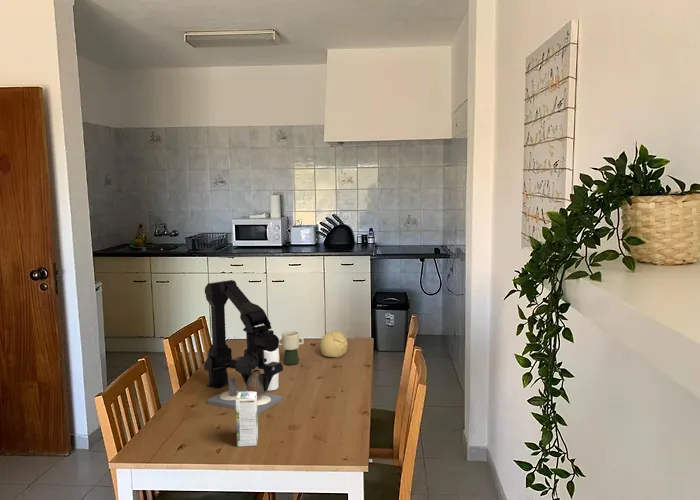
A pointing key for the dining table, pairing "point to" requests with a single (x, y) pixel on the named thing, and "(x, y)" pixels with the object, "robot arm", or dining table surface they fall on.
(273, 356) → the white tapered cylinder
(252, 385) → the vase
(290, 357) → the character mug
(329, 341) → the sculpture
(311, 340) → the dining table surface
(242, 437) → the syrup box
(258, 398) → the board
